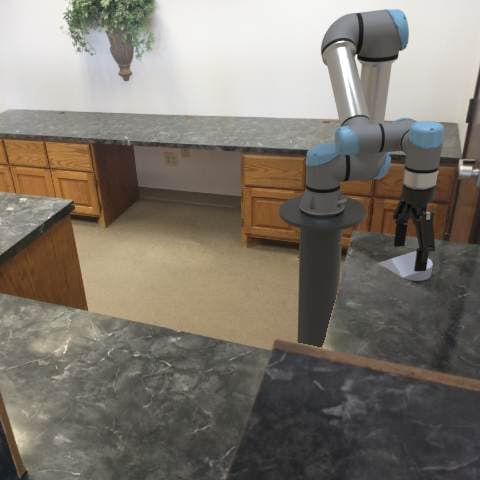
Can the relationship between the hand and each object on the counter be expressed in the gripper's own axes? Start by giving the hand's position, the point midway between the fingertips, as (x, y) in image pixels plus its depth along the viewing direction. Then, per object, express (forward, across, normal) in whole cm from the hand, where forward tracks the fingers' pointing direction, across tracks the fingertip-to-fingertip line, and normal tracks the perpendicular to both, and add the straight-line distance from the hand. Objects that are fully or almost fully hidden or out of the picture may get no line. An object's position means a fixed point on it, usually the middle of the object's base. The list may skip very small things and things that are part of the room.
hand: (409, 257), depth 138 cm
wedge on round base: (+5, 0, 0) cm, 5 cm away
